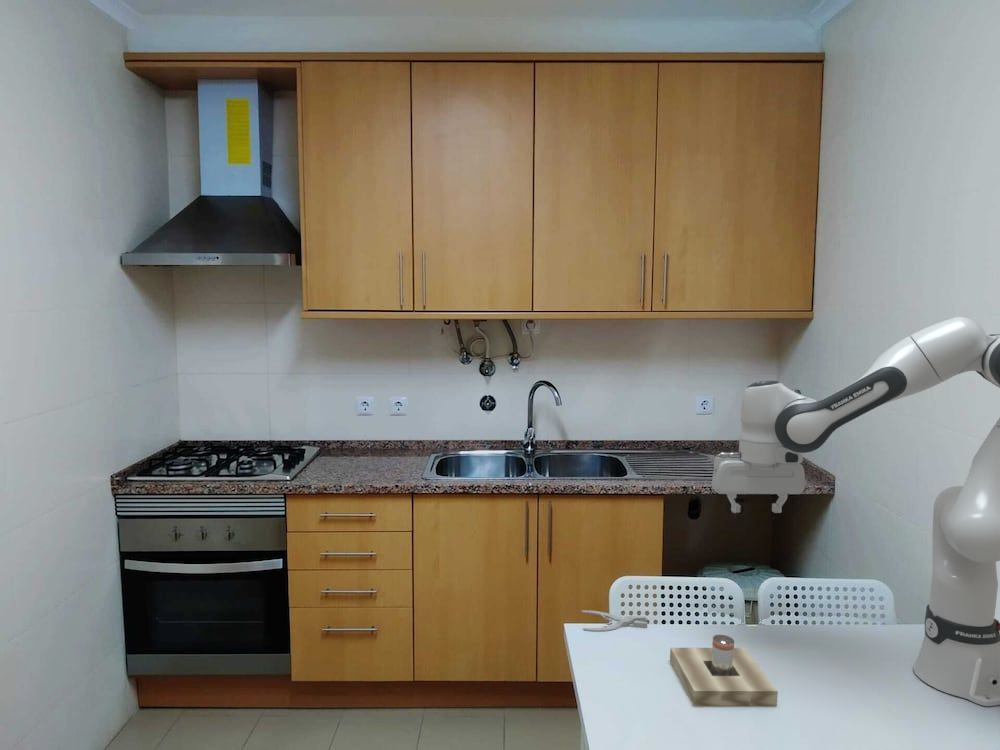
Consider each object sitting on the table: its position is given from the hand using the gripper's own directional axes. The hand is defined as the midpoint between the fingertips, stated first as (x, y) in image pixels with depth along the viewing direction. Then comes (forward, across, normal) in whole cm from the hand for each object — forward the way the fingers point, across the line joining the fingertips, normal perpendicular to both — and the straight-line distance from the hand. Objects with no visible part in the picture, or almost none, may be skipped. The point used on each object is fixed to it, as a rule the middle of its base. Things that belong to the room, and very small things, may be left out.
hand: (756, 512), depth 157 cm
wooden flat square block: (+29, -14, -21) cm, 38 cm away
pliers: (+29, -31, +4) cm, 42 cm away
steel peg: (+29, -14, -21) cm, 38 cm away
